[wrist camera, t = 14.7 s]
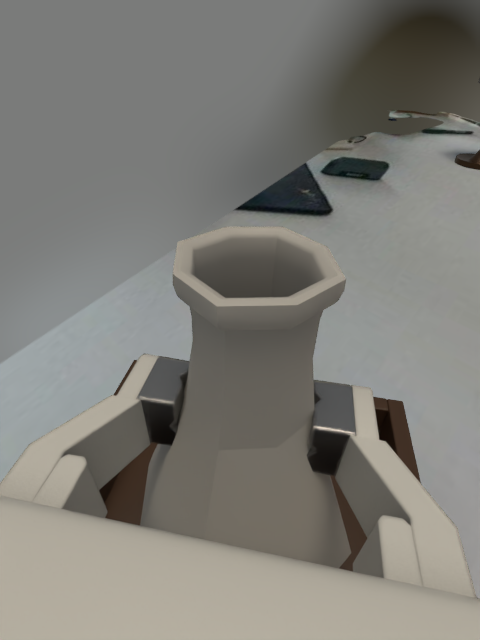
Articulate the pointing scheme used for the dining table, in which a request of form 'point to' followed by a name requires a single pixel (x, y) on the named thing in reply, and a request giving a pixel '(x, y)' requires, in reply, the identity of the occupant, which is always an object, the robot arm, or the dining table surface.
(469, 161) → the candlestick
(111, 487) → the tray
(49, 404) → the dining table surface
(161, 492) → the flask
